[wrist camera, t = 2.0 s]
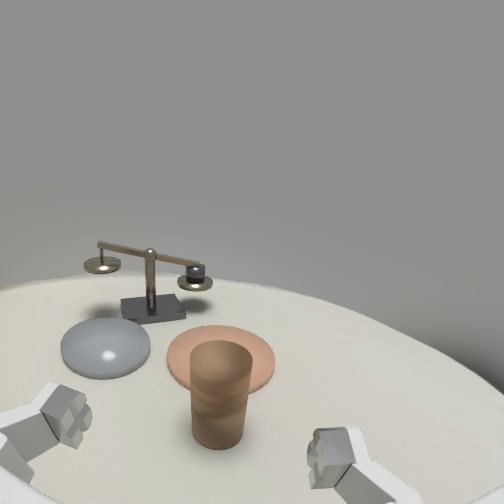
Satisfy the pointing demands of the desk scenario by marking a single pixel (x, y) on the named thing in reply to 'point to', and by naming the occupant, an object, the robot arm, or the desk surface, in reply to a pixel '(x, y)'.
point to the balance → (151, 284)
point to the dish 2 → (253, 343)
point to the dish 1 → (105, 347)
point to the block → (219, 392)
